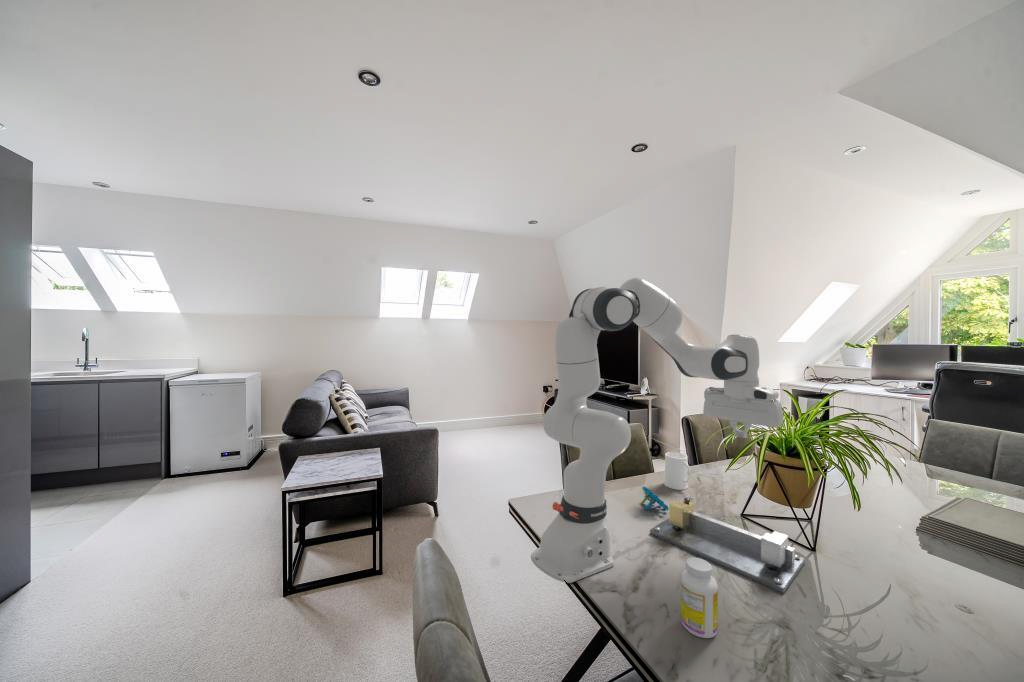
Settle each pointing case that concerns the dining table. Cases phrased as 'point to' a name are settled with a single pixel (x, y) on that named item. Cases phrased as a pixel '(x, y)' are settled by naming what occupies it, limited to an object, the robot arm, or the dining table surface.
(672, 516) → the block
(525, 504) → the dining table surface
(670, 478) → the mug
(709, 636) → the supplement bottle
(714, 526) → the trammel bar
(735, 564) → the bolt plate
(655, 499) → the gear
